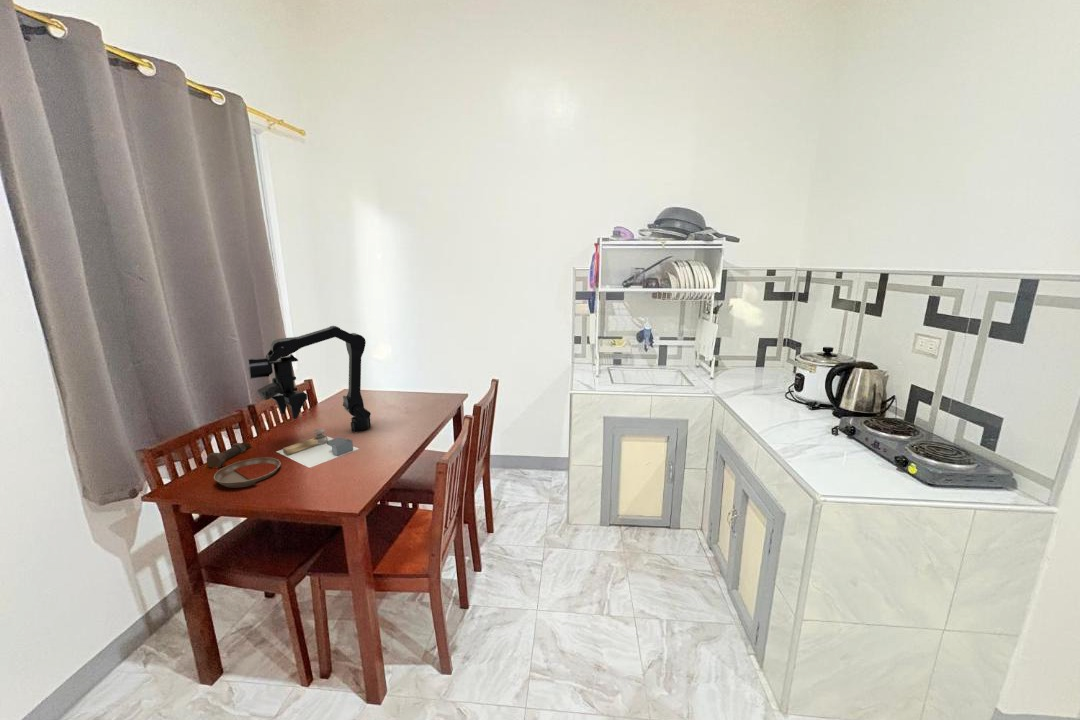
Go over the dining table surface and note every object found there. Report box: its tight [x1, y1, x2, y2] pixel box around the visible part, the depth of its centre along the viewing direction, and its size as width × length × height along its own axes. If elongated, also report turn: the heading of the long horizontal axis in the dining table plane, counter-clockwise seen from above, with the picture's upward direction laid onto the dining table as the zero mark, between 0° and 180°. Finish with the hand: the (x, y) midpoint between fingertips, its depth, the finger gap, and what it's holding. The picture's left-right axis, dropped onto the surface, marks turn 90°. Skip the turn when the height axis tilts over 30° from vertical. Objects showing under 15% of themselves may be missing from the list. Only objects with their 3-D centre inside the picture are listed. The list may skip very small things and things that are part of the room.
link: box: [282, 428, 328, 455], centre depth 157 cm, size 15×4×4 cm, turn 145°
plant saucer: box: [213, 457, 281, 489], centre depth 139 cm, size 18×18×3 cm
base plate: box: [275, 434, 360, 469], centre depth 156 cm, size 18×23×1 cm
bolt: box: [206, 441, 252, 468], centre depth 152 cm, size 6×5×15 cm
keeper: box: [327, 436, 354, 457], centre depth 154 cm, size 6×7×4 cm
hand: (289, 416), depth 158 cm, fingers open, 9 cm apart
